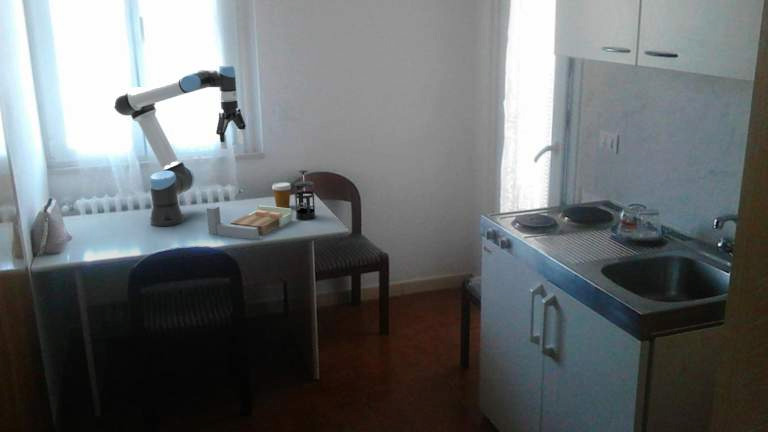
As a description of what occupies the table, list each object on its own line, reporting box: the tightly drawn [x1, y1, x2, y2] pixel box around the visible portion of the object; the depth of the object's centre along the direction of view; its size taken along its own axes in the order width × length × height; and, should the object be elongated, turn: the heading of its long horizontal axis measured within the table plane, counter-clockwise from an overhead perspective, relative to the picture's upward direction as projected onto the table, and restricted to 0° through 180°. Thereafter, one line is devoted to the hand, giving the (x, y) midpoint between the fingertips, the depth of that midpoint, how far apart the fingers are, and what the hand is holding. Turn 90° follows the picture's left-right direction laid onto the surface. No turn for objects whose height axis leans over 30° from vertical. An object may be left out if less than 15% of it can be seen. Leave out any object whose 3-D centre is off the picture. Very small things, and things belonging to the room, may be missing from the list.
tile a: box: [254, 209, 268, 217], centre depth 334 cm, size 5×5×3 cm
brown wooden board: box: [230, 214, 280, 236], centre depth 325 cm, size 17×13×4 cm
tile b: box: [269, 212, 282, 224], centre depth 331 cm, size 5×5×3 cm
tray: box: [248, 204, 293, 228], centre depth 335 cm, size 18×10×6 cm, turn 67°
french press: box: [293, 169, 317, 222], centre depth 338 cm, size 12×9×23 cm
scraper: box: [205, 205, 260, 240], centre depth 316 cm, size 24×4×12 cm, turn 67°
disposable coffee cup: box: [271, 181, 292, 208], centre depth 357 cm, size 10×10×12 cm
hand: (232, 145), depth 335 cm, fingers open, 13 cm apart
